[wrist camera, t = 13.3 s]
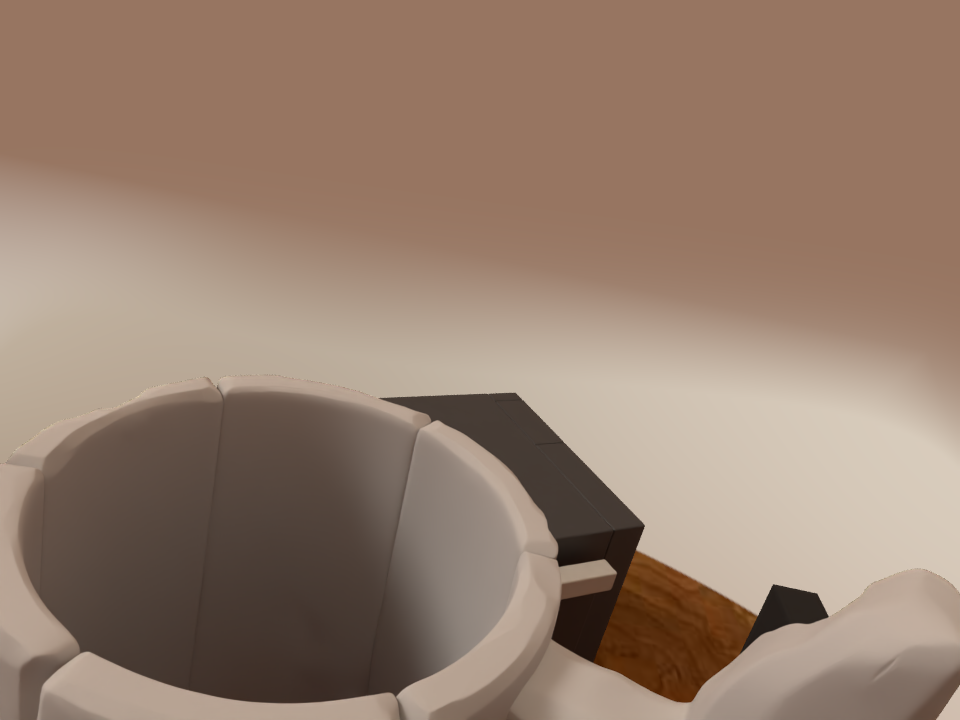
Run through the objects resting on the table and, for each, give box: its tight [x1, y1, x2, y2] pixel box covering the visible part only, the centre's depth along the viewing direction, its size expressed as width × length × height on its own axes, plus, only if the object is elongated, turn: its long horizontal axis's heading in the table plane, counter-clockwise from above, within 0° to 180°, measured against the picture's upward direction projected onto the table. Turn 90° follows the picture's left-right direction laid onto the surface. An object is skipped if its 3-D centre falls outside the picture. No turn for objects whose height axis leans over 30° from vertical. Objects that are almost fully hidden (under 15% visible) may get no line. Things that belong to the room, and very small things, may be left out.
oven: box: [379, 393, 645, 663], centre depth 33 cm, size 11×9×10 cm
